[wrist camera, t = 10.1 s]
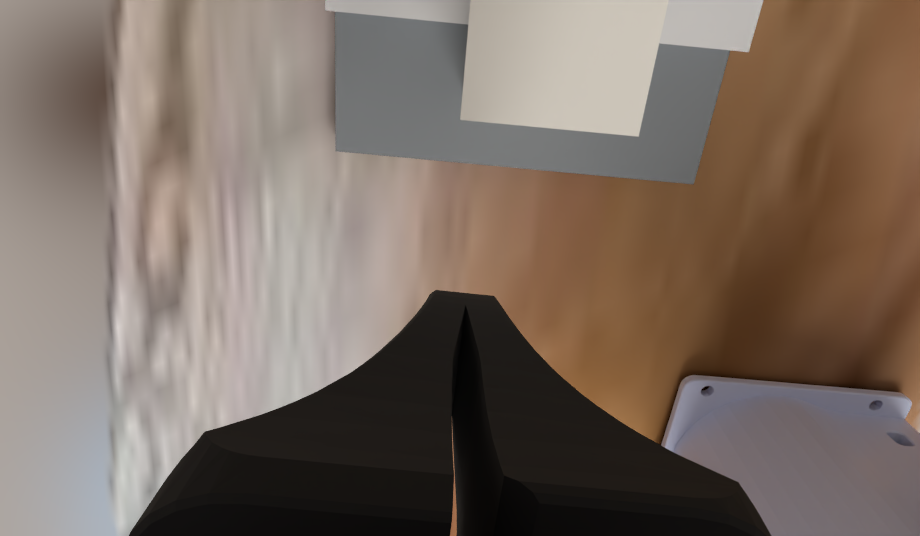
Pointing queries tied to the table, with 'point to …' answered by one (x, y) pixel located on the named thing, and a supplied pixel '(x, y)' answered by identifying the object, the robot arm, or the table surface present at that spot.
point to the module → (561, 63)
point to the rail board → (450, 139)
